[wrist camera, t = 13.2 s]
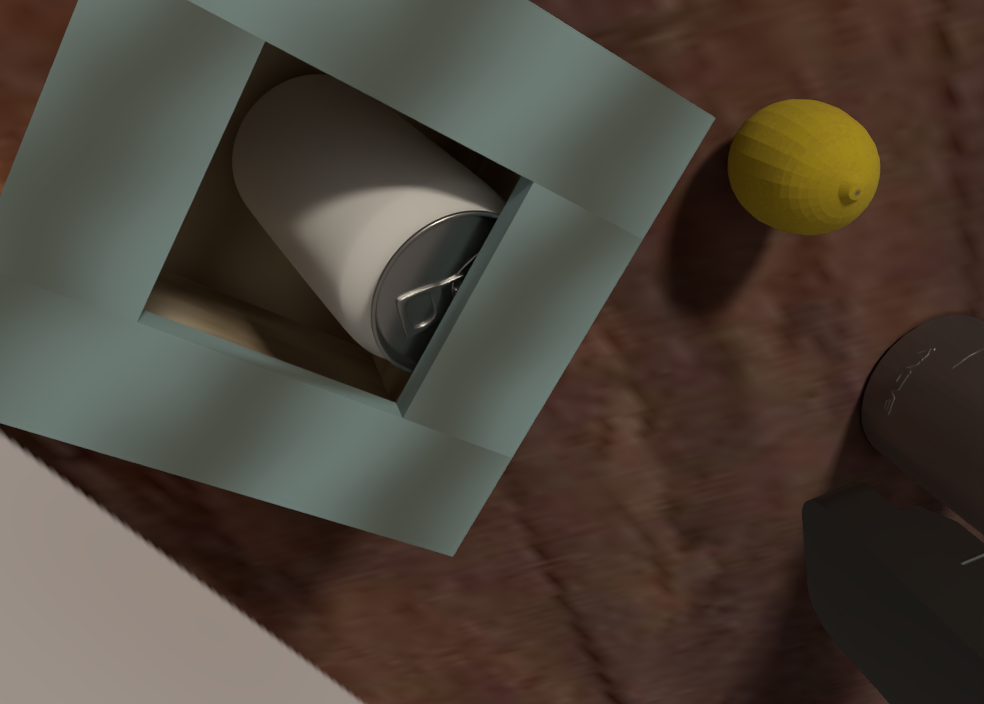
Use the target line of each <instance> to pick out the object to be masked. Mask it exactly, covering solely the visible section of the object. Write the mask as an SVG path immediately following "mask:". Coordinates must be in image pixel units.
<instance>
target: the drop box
mask: <svg viewBox="0 0 984 704" xmlns="http://www.w3.org/2000/svg"><path fill="white" fill-rule="evenodd" d="M311 74H326V75H331V76H333V77H335V78H337V79H338V80H340V81H342V82H344V83H346V84H348V85H350V86H352V87H354V88H356V89H358V90H359V91H361V92H363V93H365V94H367V95H369V96H371V97H373V98H375V99H377V100H378V101H380V102H382V103H383V104H384V105H386V106H387V107H388V108H390V109H391V110H392V111H394V112H395V113H396V114H398V115H399V116H400V117H402V118H403V119H404V120H405V121H407V122H408V123H409V124H411V125H412V126H413V127H415V128H416V129H417V130H418V131H420V132H421V133H422V134H424V135H425V136H426V137H428V138H429V139H430V140H431V141H433V142H434V143H435V144H437V145H438V146H439V147H440V148H442V149H443V150H444V151H446V152H447V153H448V154H449V155H451V156H452V157H453V158H455V159H456V160H457V161H458V162H460V163H461V164H462V165H464V166H465V167H466V168H467V169H469V170H470V171H471V172H473V173H474V174H475V175H476V176H478V177H479V178H480V179H481V180H483V181H484V182H485V183H486V184H487V185H489V186H490V187H491V188H492V189H493V190H494V191H496V192H497V193H498V194H499V195H500V196H501V198H502V199H503V200H504V201H505V202H506V204H505V206H504V208H503V210H502V212H501V214H500V215H499V217H498V219H497V221H496V223H495V224H494V226H493V228H492V230H491V232H490V233H489V235H488V237H487V239H486V241H485V243H484V244H483V246H482V248H481V250H480V252H479V253H478V255H477V257H476V259H475V261H474V263H473V264H472V266H471V268H470V270H469V272H468V273H467V275H466V277H465V279H464V281H463V282H462V284H461V286H460V288H459V290H458V292H457V293H456V295H455V297H454V299H453V301H452V302H451V304H450V306H449V308H448V310H447V311H446V313H445V315H444V317H443V319H442V321H441V322H440V324H439V326H438V328H437V330H436V331H435V333H434V335H433V337H432V339H431V341H430V342H429V344H428V346H427V348H426V350H425V351H424V353H423V355H422V357H421V359H420V360H419V362H418V364H417V366H416V368H415V370H414V371H413V373H412V374H411V373H408V372H405V371H403V370H401V369H399V368H398V367H396V366H394V365H393V364H392V363H391V362H389V361H388V360H387V359H384V358H381V357H379V356H376V355H374V354H372V353H370V352H369V351H367V350H366V349H364V348H363V347H362V346H361V345H360V344H358V343H357V342H356V341H355V340H354V339H353V338H352V337H351V336H350V335H349V333H348V332H347V331H346V330H345V329H344V328H343V327H342V325H341V324H340V323H339V322H338V320H337V319H336V318H335V317H334V316H333V314H332V313H331V312H330V311H329V310H328V308H327V307H326V306H325V305H324V303H323V302H322V301H321V300H320V298H319V297H318V296H317V295H316V293H315V292H314V291H313V290H312V289H311V287H310V286H309V285H308V284H307V282H306V281H305V280H304V279H303V277H302V276H301V275H300V274H299V272H298V271H297V270H296V269H295V267H294V266H293V265H292V264H291V262H290V261H289V260H288V259H287V257H286V256H285V255H284V254H283V252H282V251H281V250H280V249H279V247H278V246H277V245H276V244H275V242H274V241H273V240H272V238H271V237H270V236H269V235H268V233H267V232H266V231H265V230H264V228H263V227H262V226H261V225H260V223H259V222H258V221H257V219H256V218H255V217H254V215H253V214H252V213H251V211H250V210H249V209H248V207H247V206H246V205H245V203H244V202H243V200H242V198H241V196H240V194H239V192H238V190H237V187H236V184H235V181H234V177H233V171H232V152H233V146H234V141H235V138H236V135H237V132H238V129H239V127H240V125H241V123H242V121H243V119H244V118H245V116H246V114H247V113H248V111H249V110H250V109H251V108H252V106H253V105H254V104H255V103H256V102H257V101H258V100H259V99H260V98H261V97H262V96H263V95H264V94H265V93H267V92H268V91H269V90H271V89H272V88H274V87H275V86H277V85H279V84H281V83H283V82H285V81H287V80H290V79H293V78H296V77H299V76H304V75H311ZM714 120H715V117H713V116H712V115H710V114H708V113H707V112H705V111H704V110H702V109H700V108H699V107H697V106H696V105H694V104H693V103H691V102H689V101H688V100H686V99H685V98H683V97H681V96H680V95H678V94H677V93H675V92H673V91H672V90H670V89H669V88H667V87H665V86H664V85H662V84H661V83H659V82H657V81H656V80H654V79H653V78H651V77H650V76H648V75H646V74H645V73H643V72H642V71H640V70H638V69H637V68H635V67H634V66H632V65H630V64H629V63H627V62H626V61H624V60H622V59H621V58H619V57H618V56H616V55H615V54H613V53H611V52H610V51H608V50H607V49H605V48H603V47H602V46H600V45H599V44H597V43H595V42H594V41H592V40H591V39H589V38H587V37H586V36H584V35H583V34H581V33H579V32H578V31H576V30H575V29H573V28H572V27H570V26H568V25H567V24H565V23H564V22H562V21H560V20H559V19H557V18H556V17H554V16H552V15H551V14H549V13H548V12H546V11H544V10H543V9H541V8H540V7H538V6H537V5H535V4H533V3H532V2H530V1H529V0H78V2H77V5H76V7H75V10H74V12H73V15H72V17H71V20H70V23H69V25H68V28H67V30H66V33H65V35H64V38H63V40H62V43H61V45H60V48H59V50H58V53H57V55H56V58H55V60H54V63H53V65H52V68H51V70H50V73H49V75H48V78H47V80H46V83H45V85H44V88H43V90H42V93H41V95H40V98H39V100H38V103H37V105H36V108H35V110H34V113H33V115H32V118H31V120H30V123H29V125H28V128H27V130H26V133H25V135H24V138H23V141H22V143H21V146H20V148H19V151H18V153H17V156H16V158H15V161H14V163H13V166H12V168H11V171H10V173H9V176H8V178H7V181H6V183H5V186H4V188H3V191H2V193H1V196H0V423H1V424H5V425H8V426H12V427H15V428H18V429H22V430H25V431H29V432H32V433H35V434H39V435H42V436H46V437H49V438H52V439H56V440H59V441H62V442H66V443H69V444H73V445H76V446H79V447H83V448H86V449H90V450H93V451H96V452H100V453H103V454H107V455H110V456H113V457H117V458H120V459H123V460H127V461H130V462H134V463H137V464H140V465H144V466H147V467H151V468H154V469H157V470H161V471H164V472H168V473H171V474H174V475H178V476H181V477H185V478H188V479H191V480H195V481H198V482H201V483H205V484H208V485H212V486H215V487H218V488H222V489H225V490H229V491H232V492H235V493H239V494H242V495H246V496H249V497H252V498H256V499H259V500H262V501H266V502H269V503H273V504H276V505H279V506H283V507H286V508H290V509H293V510H296V511H300V512H303V513H307V514H310V515H313V516H317V517H320V518H324V519H327V520H330V521H334V522H337V523H340V524H344V525H347V526H351V527H354V528H357V529H361V530H364V531H368V532H371V533H374V534H378V535H381V536H385V537H388V538H391V539H395V540H398V541H402V542H405V543H408V544H412V545H415V546H418V547H422V548H425V549H429V550H432V551H435V552H439V553H442V554H446V555H449V556H452V557H453V556H454V554H455V552H456V551H457V549H458V547H459V545H460V544H461V542H462V540H463V539H464V537H465V535H466V534H467V532H468V530H469V529H470V527H471V525H472V524H473V522H474V520H475V519H476V517H477V515H478V514H479V512H480V510H481V509H482V507H483V505H484V504H485V502H486V500H487V499H488V497H489V495H490V494H491V492H492V490H493V489H494V487H495V485H496V484H497V482H498V480H499V479H500V477H501V475H502V474H503V472H504V470H505V469H506V467H507V465H508V464H509V462H510V460H511V459H512V457H513V455H514V454H515V452H516V450H517V449H518V447H519V445H520V444H521V442H522V440H523V439H524V437H525V435H526V434H527V432H528V430H529V429H530V427H531V425H532V424H533V422H534V420H535V419H536V417H537V415H538V414H539V412H540V410H541V409H542V407H543V405H544V404H545V402H546V400H547V399H548V397H549V395H550V394H551V392H552V390H553V389H554V387H555V385H556V384H557V382H558V380H559V379H560V377H561V375H562V374H563V372H564V370H565V369H566V367H567V365H568V364H569V362H570V360H571V358H572V357H573V355H574V353H575V352H576V350H577V348H578V347H579V345H580V343H581V342H582V340H583V338H584V337H585V335H586V333H587V332H588V330H589V328H590V327H591V325H592V323H593V322H594V320H595V318H596V317H597V315H598V313H599V312H600V310H601V308H602V307H603V305H604V303H605V302H606V300H607V298H608V297H609V295H610V293H611V292H612V290H613V288H614V287H615V285H616V283H617V282H618V280H619V278H620V277H621V275H622V273H623V272H624V270H625V268H626V267H627V265H628V263H629V262H630V260H631V258H632V257H633V255H634V253H635V252H636V250H637V248H638V247H639V245H640V243H641V242H642V240H643V238H644V237H645V235H646V233H647V232H648V230H649V228H650V227H651V225H652V223H653V222H654V220H655V218H656V217H657V215H658V213H659V212H660V210H661V208H662V207H663V205H664V203H665V202H666V200H667V198H668V197H669V195H670V193H671V192H672V190H673V188H674V187H675V185H676V183H677V182H678V180H679V178H680V177H681V175H682V173H683V171H684V170H685V168H686V166H687V165H688V163H689V161H690V160H691V158H692V156H693V155H694V153H695V151H696V150H697V148H698V146H699V145H700V143H701V141H702V140H703V138H704V136H705V135H706V133H707V131H708V130H709V128H710V126H711V125H712V123H713V121H714Z"/></svg>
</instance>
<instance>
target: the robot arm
mask: <svg viewBox="0 0 984 704" xmlns="http://www.w3.org/2000/svg"><path fill="white" fill-rule="evenodd" d="M862 425H863V429H864V432H865V435H866V437H867V439H868V440H869V442H870V444H871V445H872V446H873V447H874V448H875V449H877V450H878V451H879V452H880V453H881V454H882V455H884V456H885V457H886V458H887V459H889V460H890V461H891V462H892V463H894V464H895V465H896V466H897V467H899V468H900V469H901V470H902V471H904V472H905V473H906V474H907V475H909V476H910V477H911V478H912V479H914V480H915V481H916V482H917V483H919V484H920V485H921V486H922V487H923V488H924V489H926V490H927V491H928V492H929V493H931V494H932V495H933V496H934V497H936V498H937V499H938V500H940V501H941V502H942V503H943V504H945V505H946V506H947V507H948V508H950V509H951V510H952V511H953V512H955V513H956V514H957V515H958V516H960V517H961V518H962V519H963V520H965V521H966V522H967V523H968V524H970V525H971V526H972V527H973V528H975V529H976V530H977V531H978V532H980V533H981V534H982V535H983V536H984V322H983V321H982V320H980V319H978V318H975V317H971V316H967V315H947V316H943V317H939V318H935V319H932V320H930V321H928V322H926V323H923V324H921V325H919V326H918V327H916V328H915V329H913V330H912V331H910V332H909V333H907V334H906V335H904V336H903V337H902V338H901V339H900V340H899V341H898V342H897V343H895V344H894V345H893V346H892V347H891V348H890V349H889V351H888V352H887V353H886V354H885V356H884V357H883V358H882V359H881V361H880V362H879V364H878V365H877V367H876V369H875V370H874V372H873V374H872V375H871V377H870V380H869V382H868V385H867V387H866V390H865V393H864V398H863V403H862ZM802 520H803V534H804V548H805V562H806V576H807V588H808V593H809V597H810V600H811V603H812V606H813V608H814V610H815V613H816V615H817V617H818V618H819V620H820V622H821V624H822V625H823V627H824V628H825V630H826V631H827V633H828V634H829V635H830V636H831V637H832V639H833V640H834V641H835V642H836V643H837V644H838V645H839V647H840V648H841V649H842V650H843V651H844V652H845V653H846V655H847V656H848V657H849V658H850V659H851V660H852V661H853V663H854V664H855V665H856V666H857V667H858V668H859V669H860V671H861V672H862V673H863V674H864V675H865V676H866V677H867V679H868V680H869V681H870V682H871V683H872V684H873V685H874V687H875V688H876V689H877V690H878V691H879V692H880V693H881V695H882V696H883V697H884V698H885V699H886V700H887V701H888V703H889V704H984V543H983V542H982V541H981V540H979V539H978V538H977V537H976V536H974V535H973V534H972V533H971V532H969V531H968V530H967V529H966V528H964V527H963V526H962V525H961V524H959V523H958V522H957V521H954V520H952V519H949V518H947V517H944V516H942V515H940V514H937V513H935V512H932V511H930V510H927V509H925V508H923V507H920V506H918V505H915V504H913V505H911V506H908V507H906V508H903V509H901V510H898V509H897V508H896V507H894V506H893V505H892V504H891V503H890V502H889V501H887V500H886V499H885V498H884V497H883V496H882V495H880V494H879V493H878V492H877V491H876V490H875V489H873V488H872V487H871V486H869V485H868V484H866V483H864V482H855V483H852V484H849V485H847V486H844V487H842V488H839V489H837V490H834V491H831V492H829V493H826V494H824V495H821V496H819V497H816V498H814V499H811V500H808V501H806V502H805V503H804V505H803V509H802Z"/></svg>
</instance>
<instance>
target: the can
mask: <svg viewBox="0 0 984 704" xmlns="http://www.w3.org/2000/svg"><path fill="white" fill-rule="evenodd" d="M232 171H233V177H234V181H235V184H236V187H237V190H238V192H239V194H240V196H241V198H242V200H243V202H244V203H245V205H246V206H247V207H248V209H249V210H250V211H251V213H252V214H253V215H254V217H255V218H256V219H257V221H258V222H259V223H260V225H261V226H262V227H263V228H264V230H265V231H266V232H267V233H268V235H269V236H270V237H271V238H272V240H273V241H274V242H275V244H276V245H277V246H278V247H279V249H280V250H281V251H282V252H283V254H284V255H285V256H286V257H287V259H288V260H289V261H290V262H291V264H292V265H293V266H294V267H295V269H296V270H297V271H298V272H299V274H300V275H301V276H302V277H303V279H304V280H305V281H306V282H307V284H308V285H309V286H310V287H311V289H312V290H313V291H314V292H315V293H316V295H317V296H318V297H319V298H320V300H321V301H322V302H323V303H324V305H325V306H326V307H327V308H328V310H329V311H330V312H331V313H332V314H333V316H334V317H335V318H336V319H337V320H338V322H339V323H340V324H341V325H342V327H343V328H344V329H345V330H346V331H347V332H348V333H349V335H350V336H351V337H352V338H353V339H354V340H355V341H356V342H357V343H358V344H360V345H361V346H362V347H363V348H364V349H366V350H367V351H369V352H370V353H372V354H374V355H376V356H379V357H381V358H384V359H387V360H388V361H389V362H391V363H392V364H393V365H394V366H396V367H398V368H399V369H401V370H403V371H405V372H408V373H411V374H412V373H413V371H414V370H415V368H416V366H417V364H418V362H419V360H420V359H421V357H422V355H423V353H424V351H425V350H426V348H427V346H428V344H429V342H430V341H431V339H432V337H433V335H434V333H435V331H436V330H437V328H438V326H439V324H440V322H441V321H442V319H443V317H444V315H445V313H446V311H447V310H448V308H449V306H450V304H451V302H452V301H453V299H454V297H455V295H456V293H457V292H458V290H459V288H460V286H461V284H462V282H463V281H464V279H465V277H466V275H467V273H468V272H469V270H470V268H471V266H472V264H473V263H474V261H475V259H476V257H477V255H478V253H479V252H480V250H481V248H482V246H483V244H484V243H485V241H486V239H487V237H488V235H489V233H490V232H491V230H492V228H493V226H494V224H495V223H496V221H497V219H498V217H499V215H500V214H501V212H502V210H503V208H504V206H505V204H506V202H505V201H504V200H503V199H502V198H501V196H500V195H499V194H498V193H497V192H496V191H494V190H493V189H492V188H491V187H490V186H489V185H487V184H486V183H485V182H484V181H483V180H481V179H480V178H479V177H478V176H476V175H475V174H474V173H473V172H471V171H470V170H469V169H467V168H466V167H465V166H464V165H462V164H461V163H460V162H458V161H457V160H456V159H455V158H453V157H452V156H451V155H449V154H448V153H447V152H446V151H444V150H443V149H442V148H440V147H439V146H438V145H437V144H435V143H434V142H433V141H431V140H430V139H429V138H428V137H426V136H425V135H424V134H422V133H421V132H420V131H418V130H417V129H416V128H415V127H413V126H412V125H411V124H409V123H408V122H407V121H405V120H404V119H403V118H402V117H400V116H399V115H398V114H396V113H395V112H394V111H392V110H391V109H390V108H388V107H387V106H386V105H384V104H383V103H382V102H380V101H378V100H377V99H375V98H373V97H371V96H369V95H367V94H365V93H363V92H361V91H359V90H358V89H356V88H354V87H352V86H350V85H348V84H346V83H344V82H342V81H340V80H338V79H337V78H335V77H333V76H331V75H326V74H311V75H304V76H299V77H296V78H293V79H290V80H287V81H285V82H283V83H281V84H279V85H277V86H275V87H274V88H272V89H271V90H269V91H268V92H267V93H265V94H264V95H263V96H262V97H261V98H260V99H259V100H258V101H257V102H256V103H255V104H254V105H253V106H252V108H251V109H250V110H249V111H248V113H247V114H246V116H245V118H244V119H243V121H242V123H241V125H240V127H239V129H238V132H237V135H236V138H235V141H234V146H233V152H232Z"/></svg>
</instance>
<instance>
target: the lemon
mask: <svg viewBox="0 0 984 704" xmlns="http://www.w3.org/2000/svg"><path fill="white" fill-rule="evenodd" d="M879 176H880V160H879V156H878V152H877V149H876V146H875V144H874V142H873V140H872V139H871V137H870V136H869V134H868V133H867V131H866V130H865V129H864V127H863V126H862V125H860V124H859V123H858V122H857V121H856V120H854V119H853V118H852V117H851V116H849V115H848V114H847V113H845V112H844V111H842V110H841V109H839V108H836V107H834V106H831V105H828V104H825V103H823V102H819V101H816V100H801V99H790V100H785V101H781V102H777V103H773V104H770V105H768V106H766V107H764V108H763V109H761V110H759V111H757V112H756V113H755V114H753V115H752V116H751V117H750V118H749V119H748V120H747V121H746V122H744V124H743V125H742V126H741V128H740V129H739V130H738V132H737V133H736V135H735V137H734V139H733V142H732V144H731V146H730V151H729V155H728V177H729V181H730V185H731V188H732V190H733V192H734V194H735V196H736V197H737V199H738V201H739V202H740V204H741V205H742V206H743V207H744V208H745V209H746V210H747V211H748V212H749V213H750V214H751V215H752V216H753V217H755V218H756V219H757V220H759V221H760V222H762V223H764V224H766V225H769V226H771V227H773V228H775V229H777V230H780V231H783V232H787V233H794V234H803V235H817V234H823V233H830V232H832V231H835V230H837V229H839V228H842V227H844V226H846V225H848V224H849V223H850V222H852V221H853V220H855V219H856V218H857V217H858V216H859V215H860V214H861V213H862V212H863V211H864V210H865V209H866V208H867V206H868V205H869V203H870V201H871V200H872V198H873V196H874V194H875V191H876V189H877V186H878V181H879Z"/></svg>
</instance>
